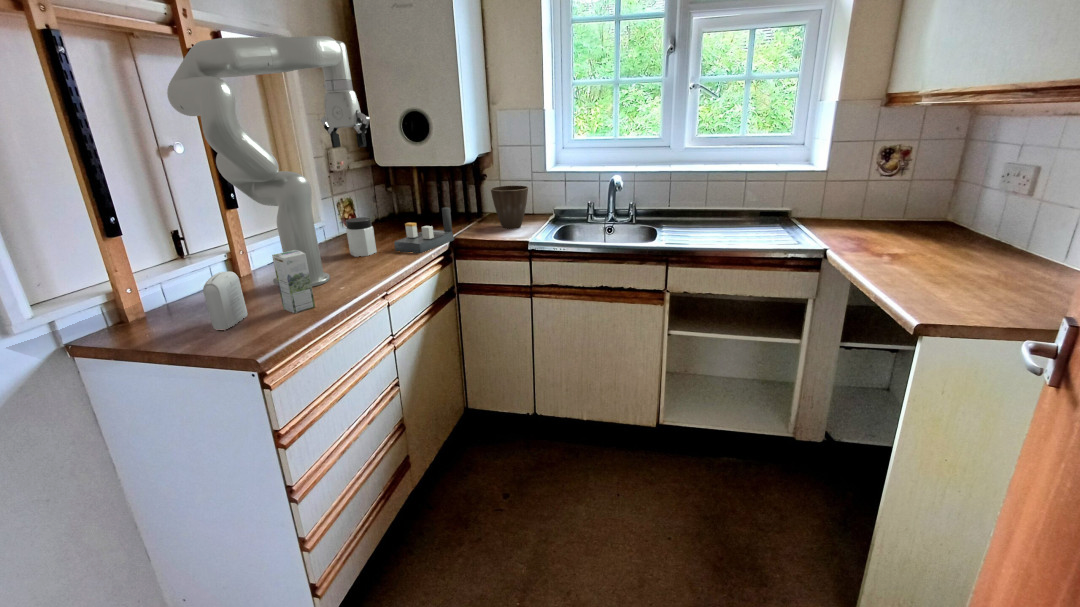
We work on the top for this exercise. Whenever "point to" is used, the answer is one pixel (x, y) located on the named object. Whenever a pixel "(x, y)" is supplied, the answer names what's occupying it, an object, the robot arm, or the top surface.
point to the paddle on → (411, 230)
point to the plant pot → (510, 205)
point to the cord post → (447, 219)
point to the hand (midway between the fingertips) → (349, 147)
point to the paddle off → (427, 232)
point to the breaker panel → (423, 242)
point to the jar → (360, 237)
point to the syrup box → (294, 281)
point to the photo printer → (224, 300)
